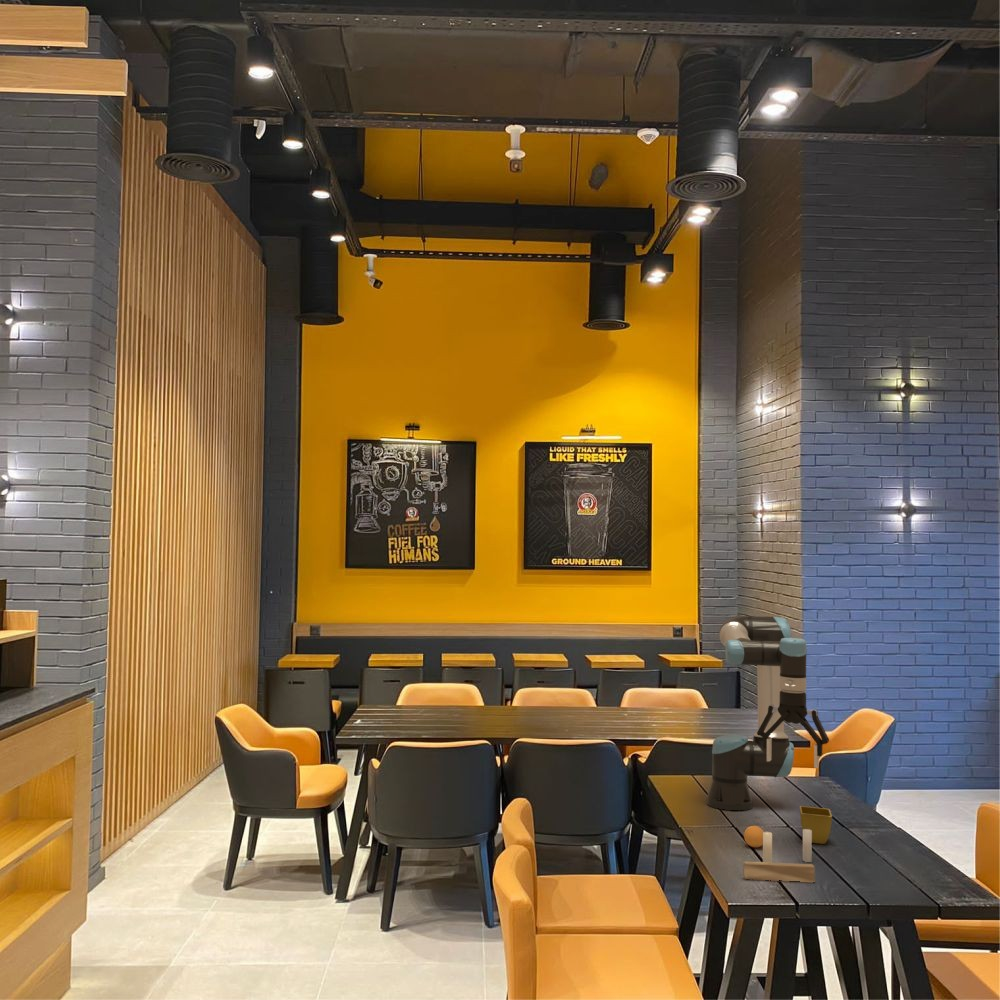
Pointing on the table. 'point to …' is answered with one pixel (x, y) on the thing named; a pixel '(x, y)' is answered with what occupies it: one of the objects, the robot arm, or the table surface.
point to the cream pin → (767, 847)
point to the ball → (754, 836)
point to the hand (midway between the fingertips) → (792, 763)
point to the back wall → (779, 871)
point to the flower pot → (816, 822)
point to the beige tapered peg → (807, 845)
